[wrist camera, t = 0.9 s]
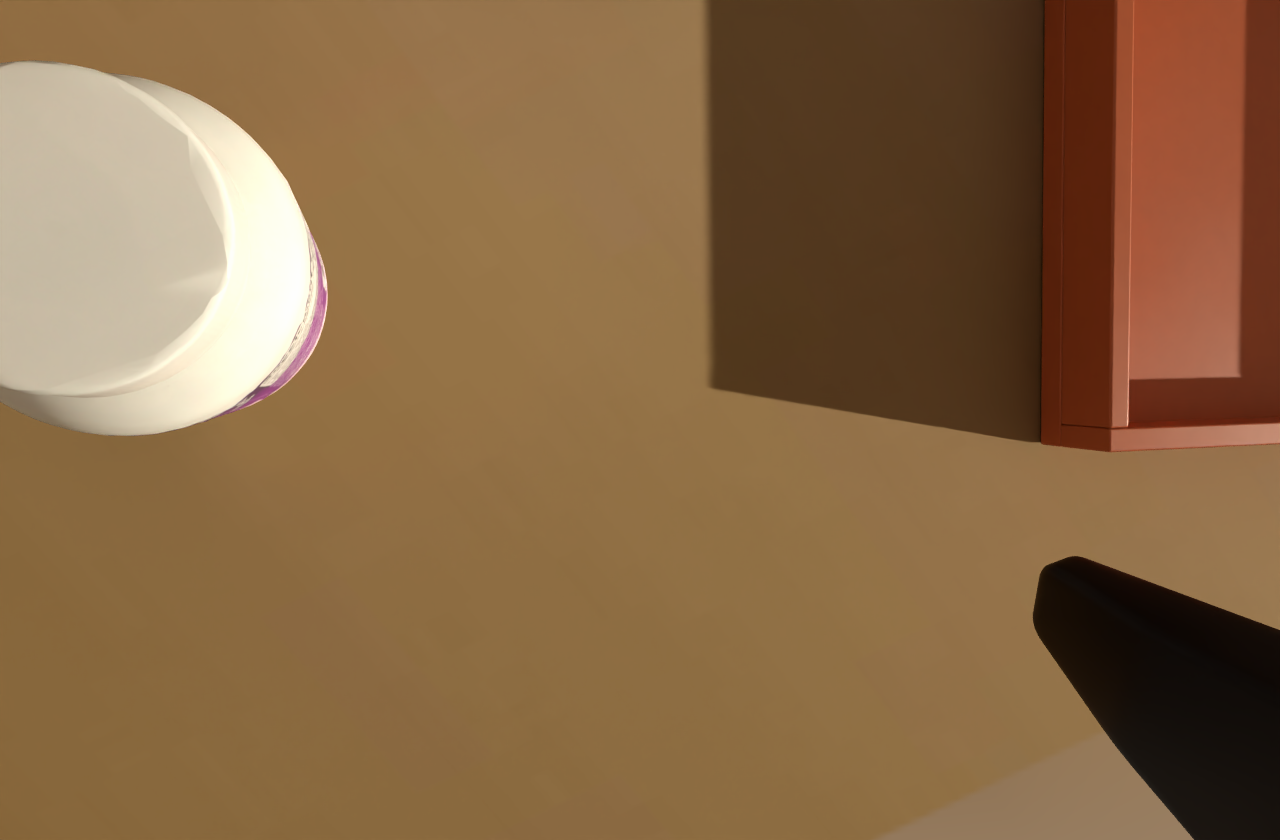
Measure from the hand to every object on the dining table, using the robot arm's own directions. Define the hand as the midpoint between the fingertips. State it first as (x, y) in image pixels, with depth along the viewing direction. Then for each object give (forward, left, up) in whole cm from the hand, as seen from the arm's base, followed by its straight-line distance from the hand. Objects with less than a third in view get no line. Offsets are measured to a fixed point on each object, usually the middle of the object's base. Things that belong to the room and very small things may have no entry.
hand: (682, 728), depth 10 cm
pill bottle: (+6, +7, -13) cm, 16 cm away
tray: (+10, -21, -13) cm, 27 cm away
